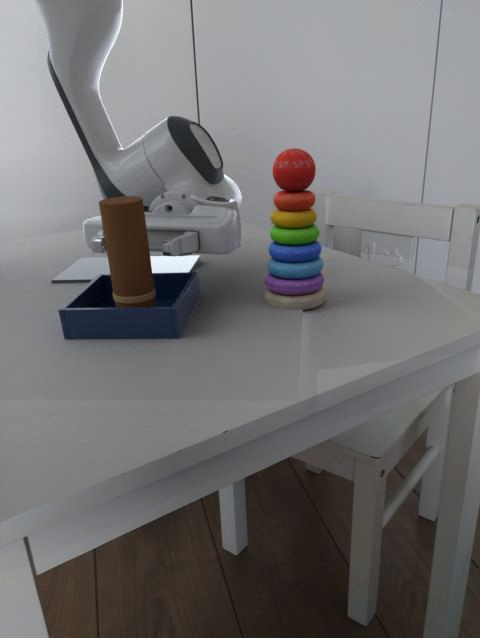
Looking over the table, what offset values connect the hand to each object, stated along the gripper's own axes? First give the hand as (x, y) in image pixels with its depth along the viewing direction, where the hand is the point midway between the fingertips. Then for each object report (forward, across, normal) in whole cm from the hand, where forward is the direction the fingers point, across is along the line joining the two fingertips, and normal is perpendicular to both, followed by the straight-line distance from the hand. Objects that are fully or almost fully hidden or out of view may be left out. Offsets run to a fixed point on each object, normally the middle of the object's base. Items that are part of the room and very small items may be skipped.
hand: (131, 247), depth 67 cm
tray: (+1, 0, +9) cm, 9 cm away
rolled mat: (+1, 0, +8) cm, 8 cm away
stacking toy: (-9, +17, +9) cm, 22 cm away
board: (-17, -11, +9) cm, 22 cm away
